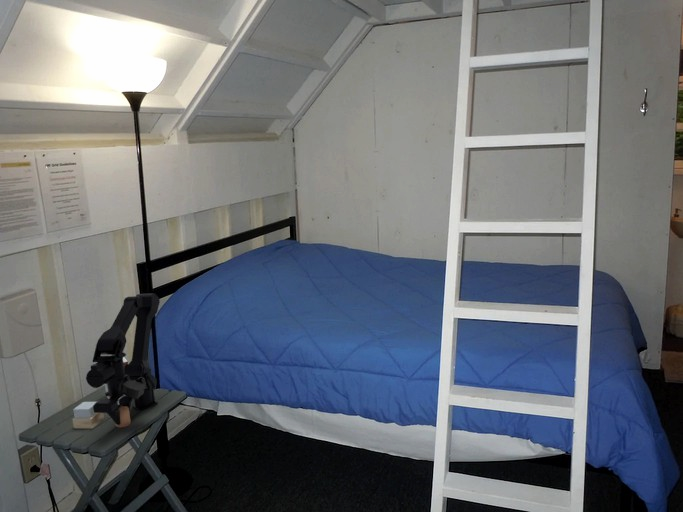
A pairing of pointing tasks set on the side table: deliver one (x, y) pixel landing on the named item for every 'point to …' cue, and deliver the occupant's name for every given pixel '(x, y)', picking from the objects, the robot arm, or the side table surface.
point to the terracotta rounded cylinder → (124, 417)
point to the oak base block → (88, 421)
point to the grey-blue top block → (84, 410)
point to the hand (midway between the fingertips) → (122, 420)
